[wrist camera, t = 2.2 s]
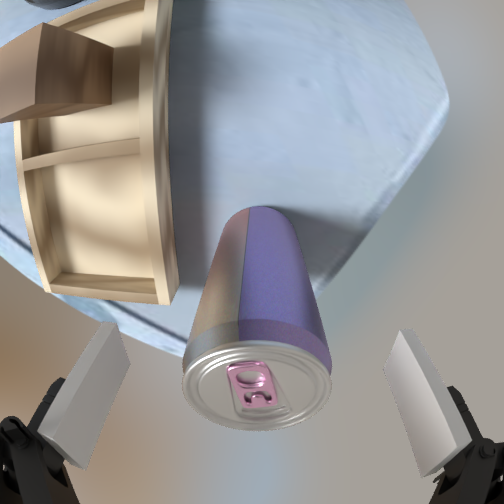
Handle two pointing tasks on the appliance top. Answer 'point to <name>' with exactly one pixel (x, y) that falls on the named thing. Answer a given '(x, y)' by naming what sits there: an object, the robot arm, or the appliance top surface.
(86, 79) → the walnut block
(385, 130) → the appliance top surface
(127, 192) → the rack
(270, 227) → the beverage can
